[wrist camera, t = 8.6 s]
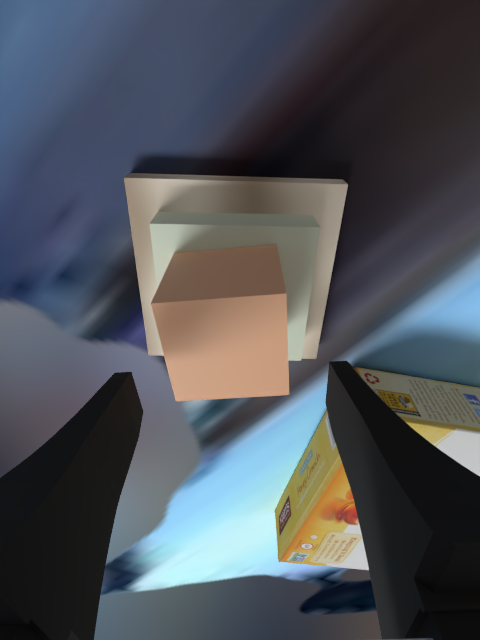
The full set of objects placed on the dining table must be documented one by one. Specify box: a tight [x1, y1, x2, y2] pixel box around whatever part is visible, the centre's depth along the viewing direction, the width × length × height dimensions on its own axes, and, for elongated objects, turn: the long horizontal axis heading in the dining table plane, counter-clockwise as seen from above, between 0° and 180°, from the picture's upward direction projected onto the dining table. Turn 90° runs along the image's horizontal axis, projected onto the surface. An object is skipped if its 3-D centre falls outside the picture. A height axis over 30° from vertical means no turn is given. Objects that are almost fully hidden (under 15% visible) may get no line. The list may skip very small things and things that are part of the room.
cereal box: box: [275, 367, 480, 570], centre depth 30 cm, size 20×6×28 cm
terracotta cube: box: [151, 244, 289, 401], centre depth 16 cm, size 5×5×5 cm
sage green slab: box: [150, 212, 320, 361], centre depth 20 cm, size 8×8×2 cm
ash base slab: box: [124, 173, 348, 359], centre depth 21 cm, size 11×11×2 cm
